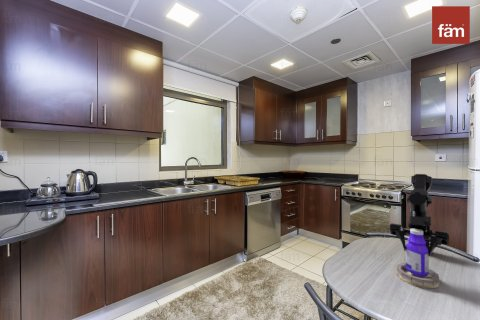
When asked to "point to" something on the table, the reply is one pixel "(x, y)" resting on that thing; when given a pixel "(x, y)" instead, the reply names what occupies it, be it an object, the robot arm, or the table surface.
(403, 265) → the collar base
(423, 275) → the bottle
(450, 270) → the table surface
